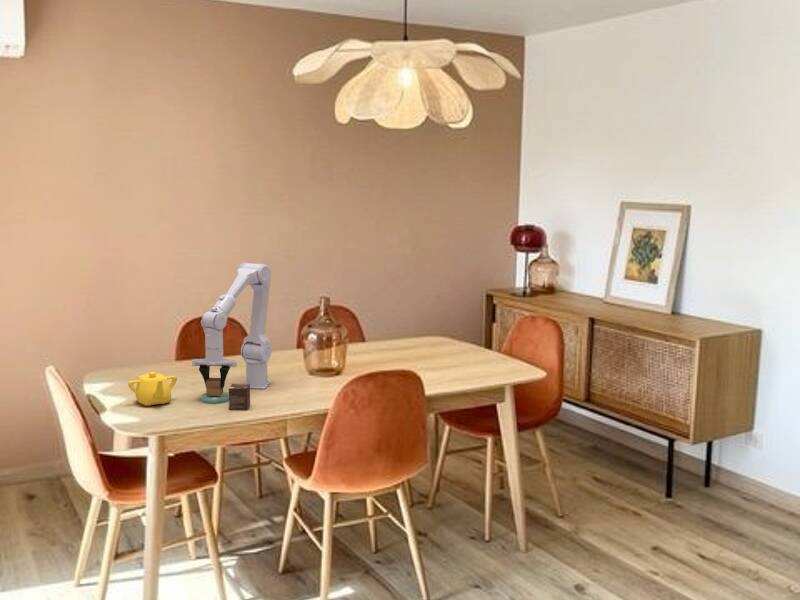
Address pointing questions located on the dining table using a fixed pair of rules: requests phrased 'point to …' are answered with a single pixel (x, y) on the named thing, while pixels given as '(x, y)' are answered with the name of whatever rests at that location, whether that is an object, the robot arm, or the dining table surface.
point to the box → (239, 396)
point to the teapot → (152, 388)
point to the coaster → (215, 398)
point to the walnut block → (213, 387)
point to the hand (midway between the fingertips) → (215, 387)
